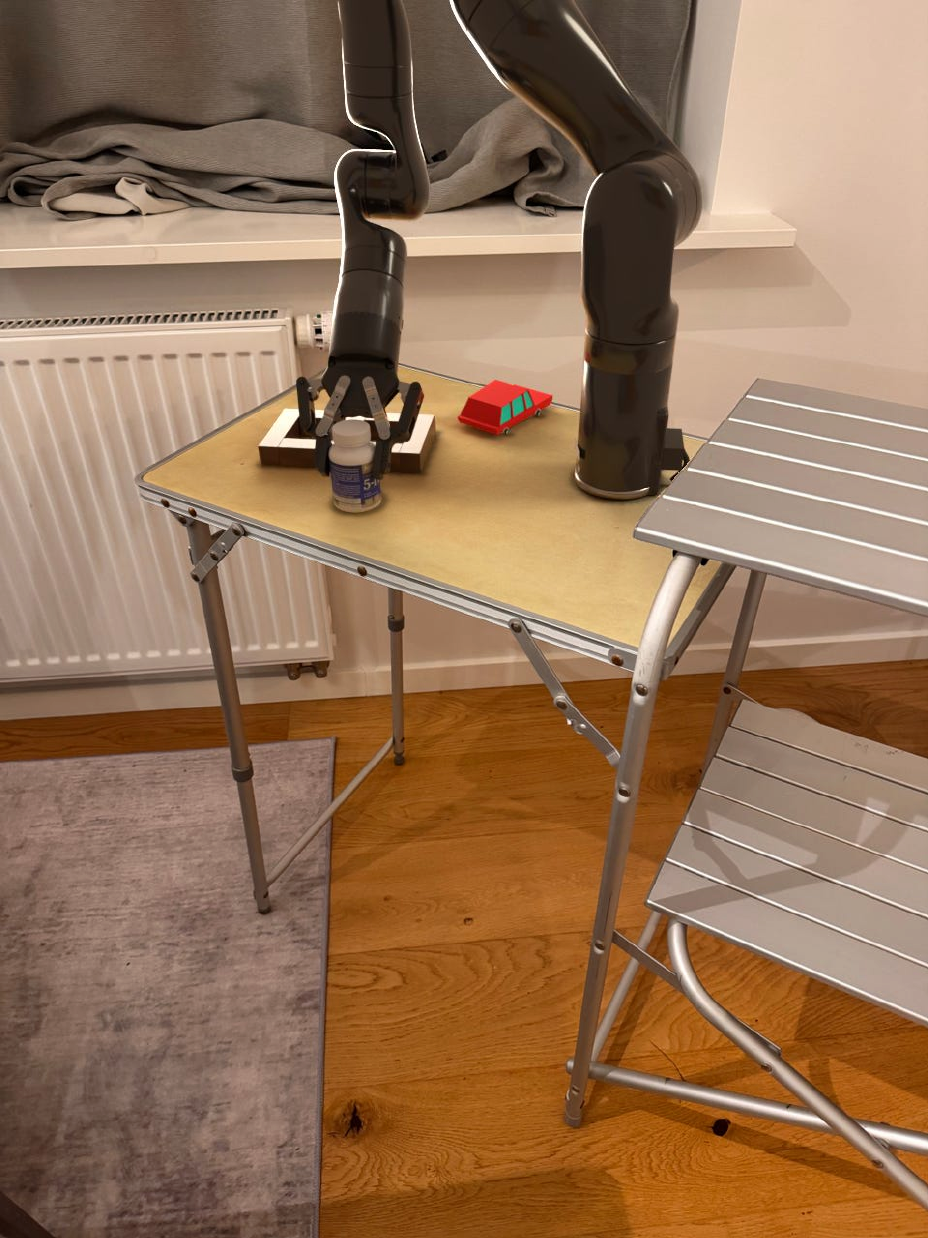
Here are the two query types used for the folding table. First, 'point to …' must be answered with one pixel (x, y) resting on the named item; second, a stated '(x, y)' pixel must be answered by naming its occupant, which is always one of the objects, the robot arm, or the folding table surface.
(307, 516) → the folding table surface
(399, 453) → the peg board
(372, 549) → the folding table surface
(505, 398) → the toy car
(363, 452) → the pill bottle
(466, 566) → the folding table surface
